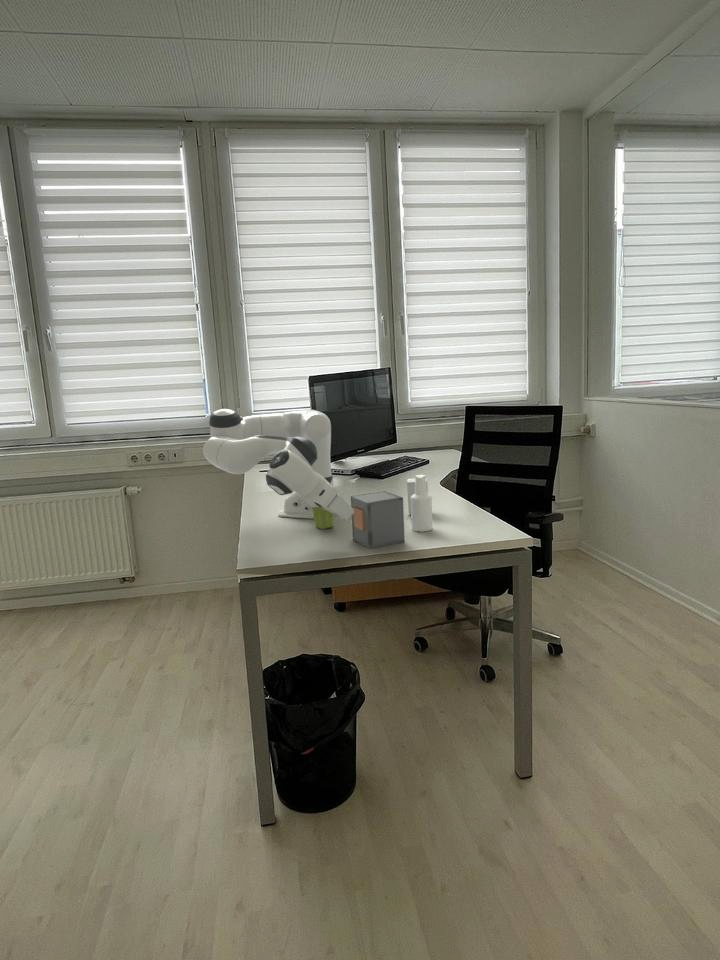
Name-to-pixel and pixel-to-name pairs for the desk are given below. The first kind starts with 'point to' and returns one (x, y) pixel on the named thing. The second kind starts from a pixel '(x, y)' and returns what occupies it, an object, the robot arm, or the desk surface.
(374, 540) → the button box
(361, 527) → the button
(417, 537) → the desk surface
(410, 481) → the supplement box
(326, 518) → the plant pot
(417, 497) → the spray bottle
